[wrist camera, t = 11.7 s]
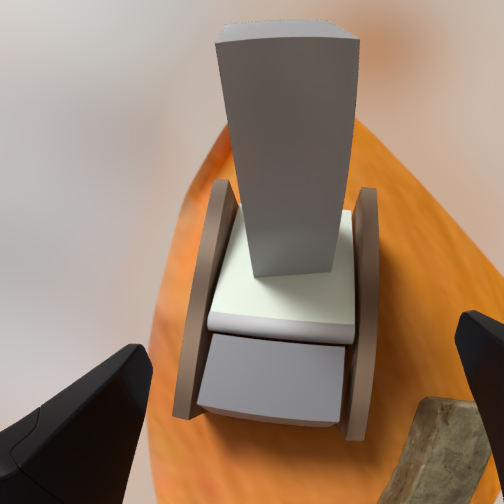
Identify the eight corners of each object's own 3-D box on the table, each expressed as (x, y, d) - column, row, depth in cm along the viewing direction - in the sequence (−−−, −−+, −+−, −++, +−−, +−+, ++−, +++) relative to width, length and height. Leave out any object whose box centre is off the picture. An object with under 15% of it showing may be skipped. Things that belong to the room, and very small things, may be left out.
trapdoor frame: (348, 423, 17) (363, 440, 13) (199, 405, 19) (172, 416, 15) (362, 222, 22) (376, 188, 18) (229, 213, 24) (214, 179, 20)
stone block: (475, 399, 16) (510, 403, 12) (424, 523, 13) (446, 548, 8) (416, 392, 18) (446, 398, 13) (363, 522, 14) (376, 554, 10)
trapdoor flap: (336, 427, 15) (349, 421, 12) (204, 411, 16) (186, 401, 13) (344, 242, 23) (351, 209, 20) (245, 235, 25) (239, 202, 22)
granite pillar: (331, 272, 18) (359, 39, 7) (253, 277, 18) (215, 43, 8) (319, 216, 20) (327, 20, 10) (252, 220, 21) (224, 24, 10)
